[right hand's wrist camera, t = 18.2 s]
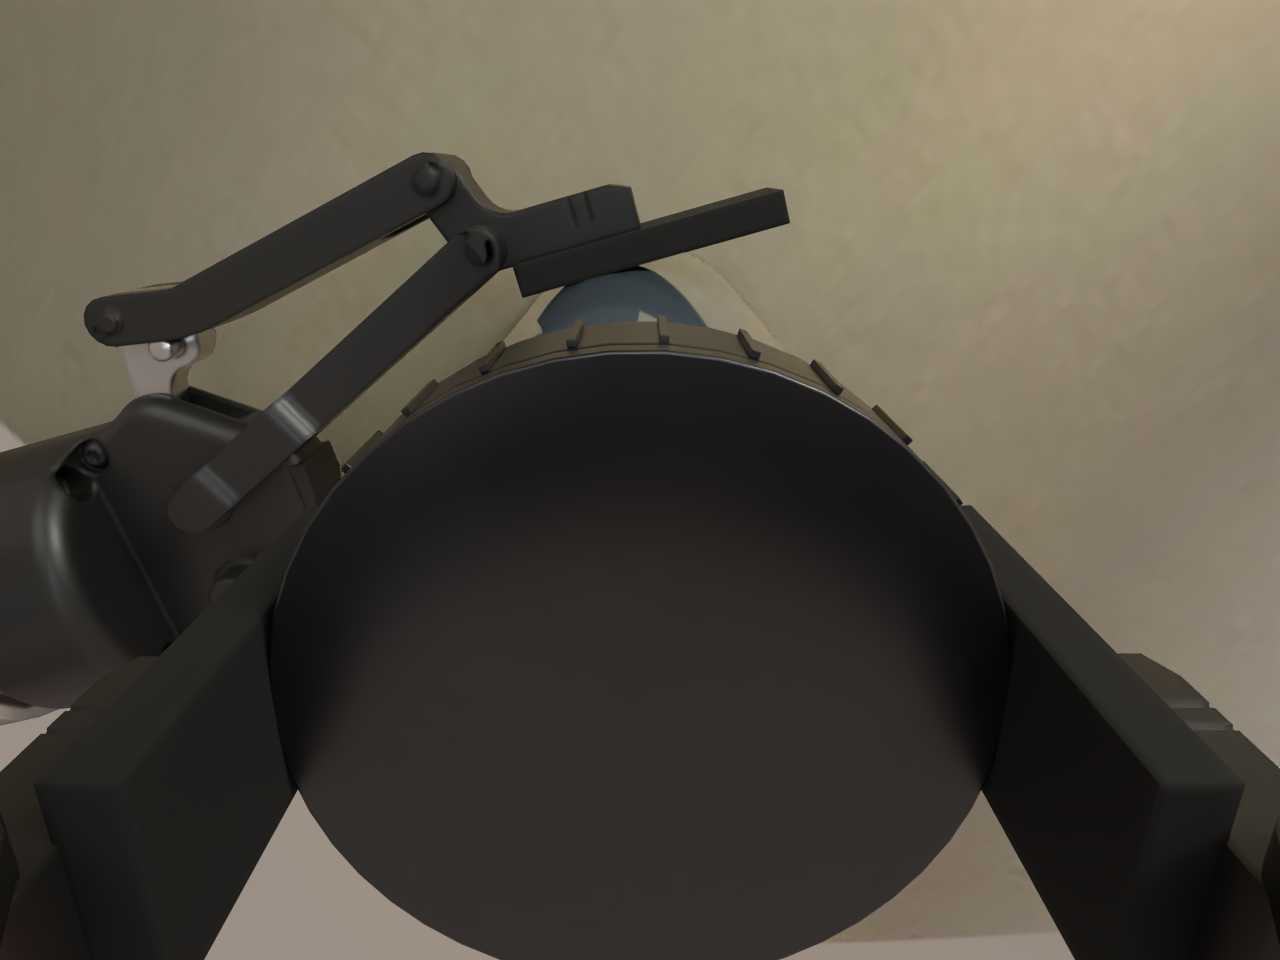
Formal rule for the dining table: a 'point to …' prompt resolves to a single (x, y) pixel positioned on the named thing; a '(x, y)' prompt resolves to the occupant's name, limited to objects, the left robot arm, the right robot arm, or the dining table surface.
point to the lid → (639, 652)
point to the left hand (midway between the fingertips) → (812, 378)
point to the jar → (646, 301)
